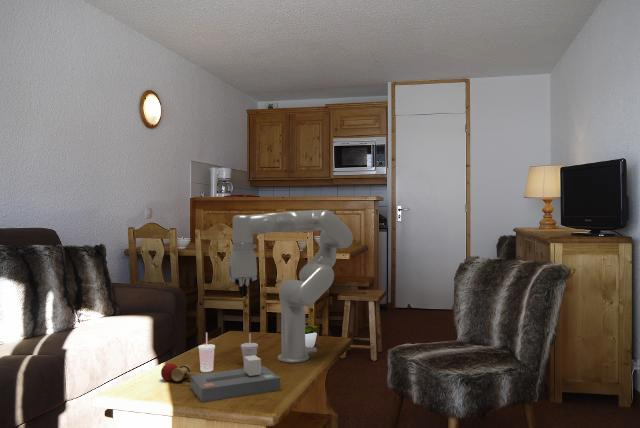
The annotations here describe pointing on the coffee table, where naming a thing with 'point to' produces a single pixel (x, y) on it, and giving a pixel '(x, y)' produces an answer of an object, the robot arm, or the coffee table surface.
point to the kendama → (176, 372)
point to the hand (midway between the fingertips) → (243, 296)
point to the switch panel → (233, 384)
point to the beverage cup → (206, 356)
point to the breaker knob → (252, 365)
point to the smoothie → (249, 348)
